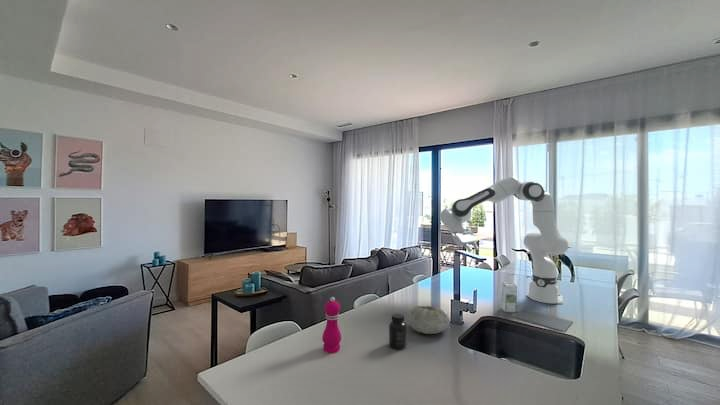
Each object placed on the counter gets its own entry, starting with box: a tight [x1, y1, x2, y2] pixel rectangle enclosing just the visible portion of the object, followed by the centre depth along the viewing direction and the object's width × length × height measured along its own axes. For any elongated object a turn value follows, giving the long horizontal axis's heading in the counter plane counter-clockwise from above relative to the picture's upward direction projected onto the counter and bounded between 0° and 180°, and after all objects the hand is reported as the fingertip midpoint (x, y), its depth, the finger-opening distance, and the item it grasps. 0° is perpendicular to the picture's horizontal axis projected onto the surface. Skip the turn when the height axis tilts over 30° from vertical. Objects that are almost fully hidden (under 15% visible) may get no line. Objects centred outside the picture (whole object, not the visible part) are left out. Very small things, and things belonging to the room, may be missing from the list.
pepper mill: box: [321, 296, 342, 354], centre depth 112 cm, size 7×7×20 cm
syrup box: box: [500, 281, 518, 314], centre depth 155 cm, size 6×6×14 cm
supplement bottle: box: [388, 312, 407, 351], centre depth 115 cm, size 7×7×12 cm
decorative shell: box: [408, 305, 451, 335], centre depth 130 cm, size 18×18×10 cm
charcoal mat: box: [511, 308, 574, 333], centre depth 144 cm, size 16×22×1 cm
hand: (474, 250), depth 169 cm, fingers open, 6 cm apart
